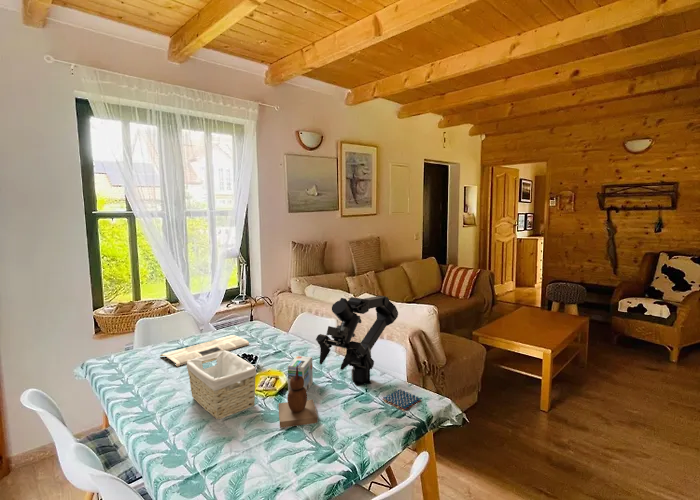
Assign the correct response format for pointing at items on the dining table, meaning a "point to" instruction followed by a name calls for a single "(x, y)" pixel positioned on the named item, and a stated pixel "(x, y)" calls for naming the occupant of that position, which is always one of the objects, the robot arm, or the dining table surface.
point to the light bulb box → (301, 370)
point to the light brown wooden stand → (297, 415)
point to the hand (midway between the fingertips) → (330, 366)
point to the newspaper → (205, 349)
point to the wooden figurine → (297, 393)
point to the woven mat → (402, 399)
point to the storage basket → (222, 383)
